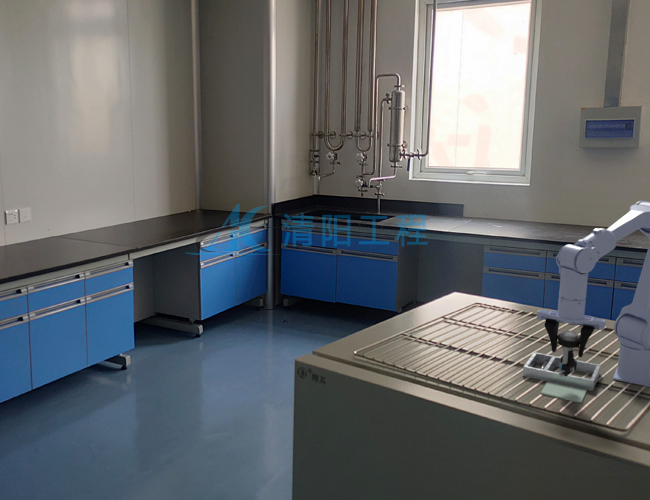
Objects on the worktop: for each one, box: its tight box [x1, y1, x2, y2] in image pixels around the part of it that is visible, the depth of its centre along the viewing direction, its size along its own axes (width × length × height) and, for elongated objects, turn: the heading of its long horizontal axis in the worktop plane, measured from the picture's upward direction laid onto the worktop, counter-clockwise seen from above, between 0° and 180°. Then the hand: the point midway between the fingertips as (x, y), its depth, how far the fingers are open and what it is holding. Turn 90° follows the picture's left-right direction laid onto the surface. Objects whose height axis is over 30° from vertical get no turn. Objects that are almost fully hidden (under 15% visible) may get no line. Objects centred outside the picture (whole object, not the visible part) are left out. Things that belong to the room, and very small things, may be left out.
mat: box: [540, 381, 588, 404], centre depth 143 cm, size 9×7×1 cm
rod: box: [539, 361, 549, 370], centre depth 155 cm, size 2×8×2 cm
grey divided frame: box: [522, 351, 602, 392], centre depth 153 cm, size 16×12×2 cm
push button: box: [557, 330, 580, 377], centre depth 142 cm, size 7×5×10 cm
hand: (567, 353), depth 141 cm, fingers closed on push button, 5 cm apart
